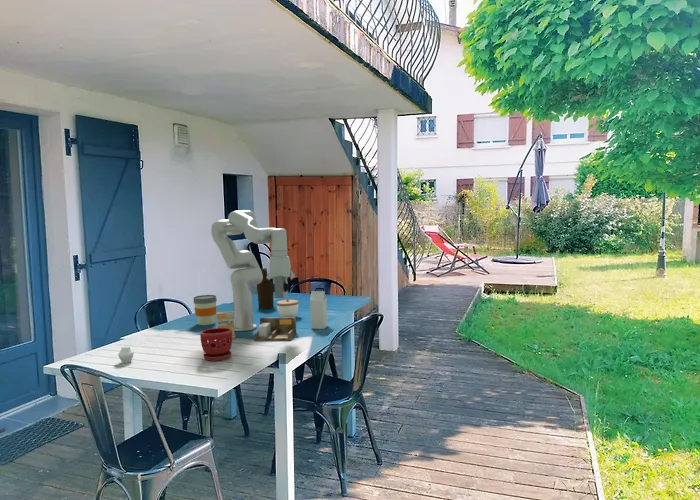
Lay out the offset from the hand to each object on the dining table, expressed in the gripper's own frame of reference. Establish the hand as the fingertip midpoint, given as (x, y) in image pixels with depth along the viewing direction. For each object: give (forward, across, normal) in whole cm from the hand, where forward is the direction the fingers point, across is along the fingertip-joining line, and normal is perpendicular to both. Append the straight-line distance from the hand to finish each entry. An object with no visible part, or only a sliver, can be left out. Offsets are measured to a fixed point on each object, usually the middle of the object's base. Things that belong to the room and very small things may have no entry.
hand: (281, 291), depth 249 cm
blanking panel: (+2, 0, 0) cm, 2 cm away
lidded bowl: (+23, -7, +44) cm, 50 cm away
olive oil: (+23, -28, +75) cm, 83 cm away
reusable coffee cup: (+23, -51, +32) cm, 64 cm away
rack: (+22, -4, 0) cm, 23 cm away
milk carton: (+23, +15, +18) cm, 33 cm away
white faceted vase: (+23, -59, -39) cm, 74 cm away
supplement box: (+23, -28, -2) cm, 36 cm away
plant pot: (+23, -21, -34) cm, 46 cm away
